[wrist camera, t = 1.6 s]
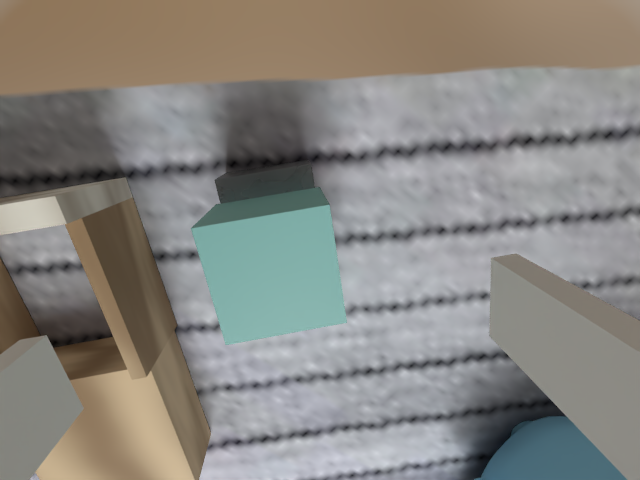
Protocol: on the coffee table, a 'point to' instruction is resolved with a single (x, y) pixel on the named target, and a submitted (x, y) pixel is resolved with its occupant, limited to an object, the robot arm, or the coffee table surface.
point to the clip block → (271, 265)
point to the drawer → (113, 344)
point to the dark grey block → (265, 181)
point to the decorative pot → (549, 454)
